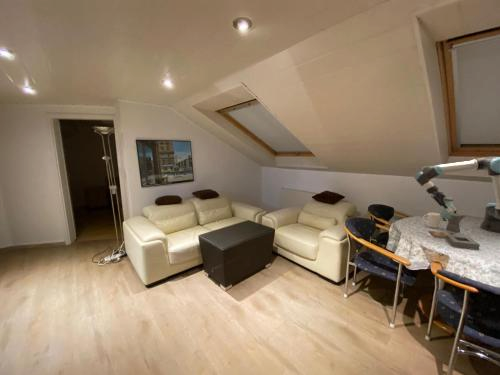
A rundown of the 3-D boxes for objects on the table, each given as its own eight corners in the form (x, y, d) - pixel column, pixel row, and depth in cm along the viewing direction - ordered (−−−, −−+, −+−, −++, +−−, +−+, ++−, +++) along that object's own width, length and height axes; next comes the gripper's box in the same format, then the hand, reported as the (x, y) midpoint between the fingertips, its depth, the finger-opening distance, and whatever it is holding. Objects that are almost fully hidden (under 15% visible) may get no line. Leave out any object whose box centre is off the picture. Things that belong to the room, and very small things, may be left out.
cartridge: (449, 217, 173) (451, 197, 170) (452, 219, 168) (455, 199, 164) (439, 216, 175) (442, 197, 172) (442, 218, 170) (445, 198, 167)
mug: (421, 225, 198) (422, 213, 196) (423, 223, 203) (424, 211, 201) (437, 228, 189) (439, 215, 187) (439, 226, 194) (441, 213, 192)
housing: (468, 241, 162) (469, 236, 161) (478, 249, 150) (479, 244, 149) (445, 239, 168) (446, 234, 167) (453, 246, 156) (453, 241, 155)
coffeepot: (464, 231, 180) (467, 211, 177) (461, 234, 175) (464, 213, 172) (441, 226, 193) (443, 207, 189) (437, 229, 188) (440, 209, 184)
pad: (452, 233, 177) (452, 232, 176) (459, 239, 166) (459, 238, 166) (428, 231, 183) (428, 230, 183) (433, 237, 173) (433, 235, 173)
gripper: (432, 189, 185) (453, 211, 174) (420, 191, 177) (442, 215, 166) (440, 183, 180) (463, 206, 168) (428, 186, 172) (451, 210, 160)
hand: (452, 211), depth 167 cm, fingers closed on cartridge, 6 cm apart
